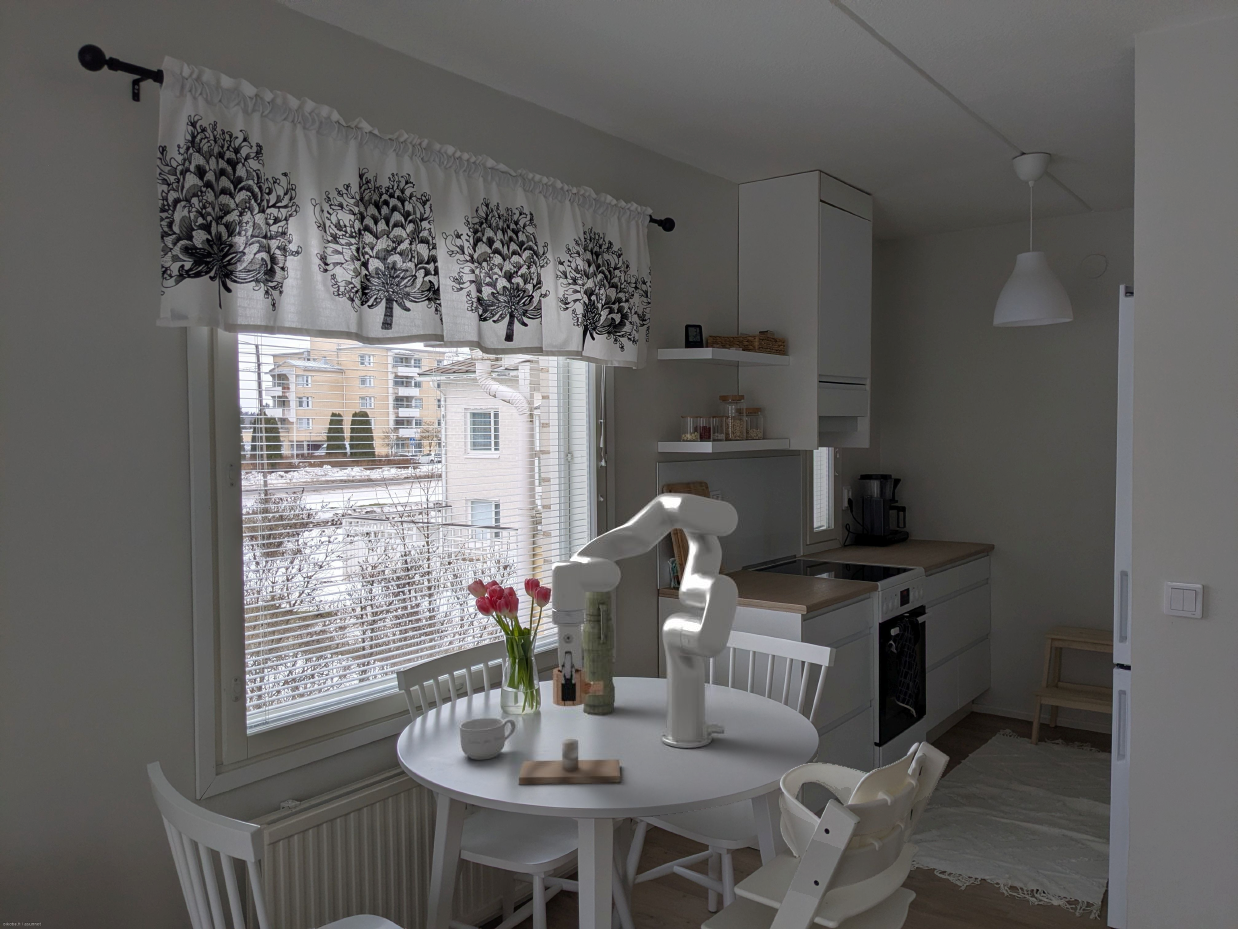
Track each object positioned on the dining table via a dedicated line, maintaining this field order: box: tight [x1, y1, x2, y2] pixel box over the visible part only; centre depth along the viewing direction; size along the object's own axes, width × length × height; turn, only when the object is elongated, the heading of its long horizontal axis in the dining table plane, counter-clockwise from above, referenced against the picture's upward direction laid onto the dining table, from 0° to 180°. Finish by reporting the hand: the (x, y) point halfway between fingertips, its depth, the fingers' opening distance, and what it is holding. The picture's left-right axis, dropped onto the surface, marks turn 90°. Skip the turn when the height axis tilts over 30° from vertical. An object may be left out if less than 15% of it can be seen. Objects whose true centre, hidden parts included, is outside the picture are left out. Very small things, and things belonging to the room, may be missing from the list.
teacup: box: [459, 716, 516, 761], centre depth 206 cm, size 14×11×8 cm
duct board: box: [518, 738, 621, 785], centre depth 192 cm, size 22×10×8 cm, turn 91°
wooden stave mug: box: [552, 667, 604, 707], centre depth 192 cm, size 7×11×7 cm, turn 91°
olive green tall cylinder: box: [581, 590, 616, 716], centre depth 240 cm, size 9×12×35 cm
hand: (569, 695), depth 192 cm, fingers closed on wooden stave mug, 7 cm apart
